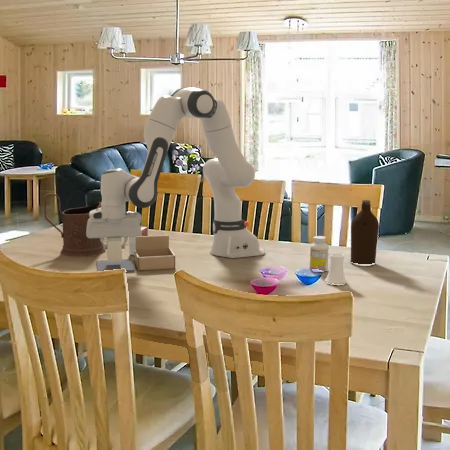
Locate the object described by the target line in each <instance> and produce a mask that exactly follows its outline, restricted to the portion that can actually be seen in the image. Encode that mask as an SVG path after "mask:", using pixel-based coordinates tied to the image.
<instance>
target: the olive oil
mask: <svg viewBox="0 0 450 450" xmlns="http://www.w3.org/2000/svg"><path fill="white" fill-rule="evenodd" d="M371 205H372V204H371V200H368V199H363V200H362V201H361V210H360V211H359V212H358V213H357V214H356V215H354V217H353V218H352V220H351V223H350V263H351V262H353V263H358V264H372V263H375V264H376V258H377V257H376V256H377V246H378V237H379V231H380V229H379V228H380V223H379V220H378V218H377V217H376V216H375V215H374V213H373V211H371Z"/></svg>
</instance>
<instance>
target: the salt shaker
mask: <svg viewBox="0 0 450 450" xmlns="http://www.w3.org/2000/svg"><path fill="white" fill-rule="evenodd" d="M329 256H330V257H329V259H330V263H329V268H328V273H327V276H326V278H324V282H325V281H326V282H328V283H330V284H332V283H334V284H344V283H346V282H348V281H347V279H346V277H345V272H344V259H345V254H342V253H331V254H329Z"/></svg>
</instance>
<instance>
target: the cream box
mask: <svg viewBox="0 0 450 450" xmlns="http://www.w3.org/2000/svg"><path fill="white" fill-rule="evenodd" d="M122 239H123V237H107V238H106V244H107V245H108V249H106V254H107V260H108V262H120V261H122V259H123V251H122V250H123V249H122V243H123V241H122Z"/></svg>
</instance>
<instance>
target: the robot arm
mask: <svg viewBox="0 0 450 450" xmlns="http://www.w3.org/2000/svg"><path fill="white" fill-rule="evenodd" d="M184 117H187V118H197V119H200V121H201V122H202V128H203V131H204V136H205V140H206V143H207V148H208V149H209V151H210V153H212V154H213V155H214V156H215V157H216V158H211V159H208V160H207V161H206V162H204V165H203V167H202V175H203V177H204V179H205V180H206V181H207V182H208V185H209V186H210V190H211V192H212V196H213V197H212V198H213V204H214V207H213V208H214V210H213V211H214V219H213V221H212V222H213V223H212V232H213V237H212V238H213V240H212V243H211V247H210V248H211V250H210V252H209V253H210V254H211V255H213V256H217V257H224V258H225V257H226V258H228V259H236V258H237V259H238V258H247V257H257V256H264V255H265V253H266V252H265V249H264V248H262V247H261V246H260V242H259V239H258V237H257V236H256V235H255V234H253V233H252V232H251V231H250V230H248V229H247V228H248V227H249V226H250V223H249V221H246V220H244V219H242V200H241V198H240V197H239V195H237V192H236V190H235V188H236V189H238V188H241V189H242V188H247V187H249V186H251V185H252V184H253V182H254V180H255V177H256V171H255V167H253V165H252V164H251V163H250V162H249V161H247V159H246V158H245V157H244V155H243V153H242V151H241V150H240V148H239V146H238V144H237V141H236V138H235V134H234V133H235V132H234V130H233V126H232V122H231V118H230V114H229V112H228V110H227V106H226V105H225V103H224V101H223V100H222V99H220V98H214V96H213V95H212V93H210V91H209V90H206V89H203V88H199V87H198V88H197V87H181V88H178V89H176V90H175V91H174V92H173V93H172V94H171V95H162V96H160V97H159V98H158V99H157V101H156V102H155V104H154V106H153V108H152V110H151V111H150V114H149V116H148V119H147V121H146V123H145V126H144V130H143V131H144V132H143V140H144V141H145V145H146V147H147V156H146V159H145V162H144V165H143V168H142V172H141V174H140V176H137V175H134V174H131V173H129V172H127V171H125V170H124V169H123V168H120V167H119V168H118V167H113V168H109V169H106V170H105V171H103V172H102V174H101V176H100V177H101V179H100V194H101V201H100V202H101V208H98V209H95V210H92V211H90V213H89V217H90V218H89V219H88V221H87V228H86V236H87V237H88V238H100V241H101V242H102V244H103V248H104V249H105V250H107V249H108V245H107V243H105V239H107V237H122V238H123V240H124V241H122V250H124V249H126V244H127V242H128V241H129V237H138V236H140V235H141V227H142V226H141V223H142V220H143V218H142V217H143V215H142V214H141V212H140V213H139V212H137V211H126V203H127V202H131V204H132V205H134V207H137V208H140V209H146V208H149V207H151V206H152V205H154V203H155V202H156V200H157V198H158V183H159V179H160V175H161V173H162V169H163V166H164V164H165V160H166V157H167V154H168V151H169V149H170V148H169V147H170V145H171V143H172V140H173V138H174V136H175V134H176V130H177V128H178V125H179V123H180V121H181V119H183V118H184ZM246 227H247V228H246Z"/></svg>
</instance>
